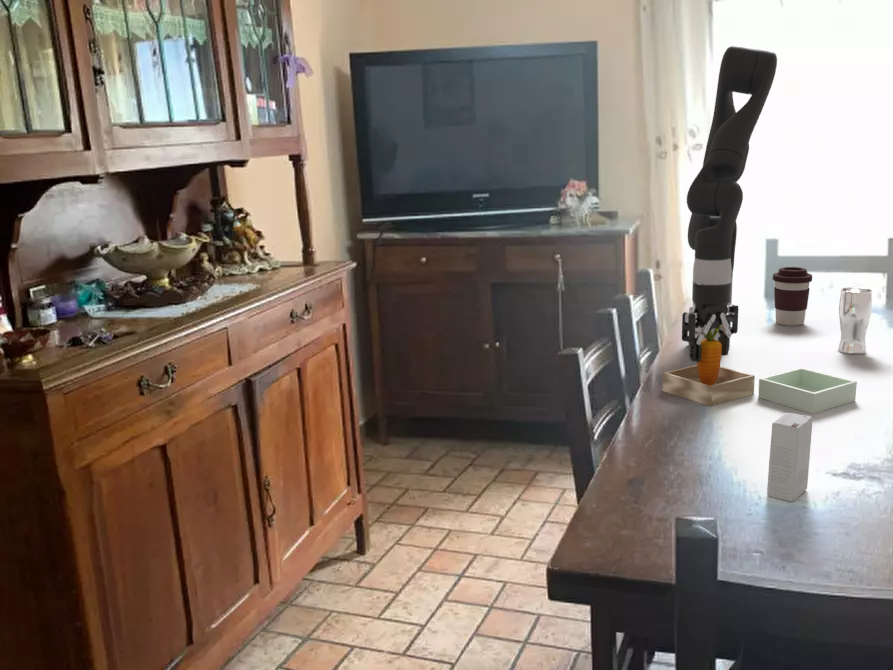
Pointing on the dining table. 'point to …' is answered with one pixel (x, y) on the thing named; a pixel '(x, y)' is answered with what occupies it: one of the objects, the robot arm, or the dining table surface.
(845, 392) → the green tray
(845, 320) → the beer glass
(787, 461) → the skincare box
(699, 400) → the birch frame
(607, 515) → the dining table surface
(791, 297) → the coffee cup
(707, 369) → the carrot
